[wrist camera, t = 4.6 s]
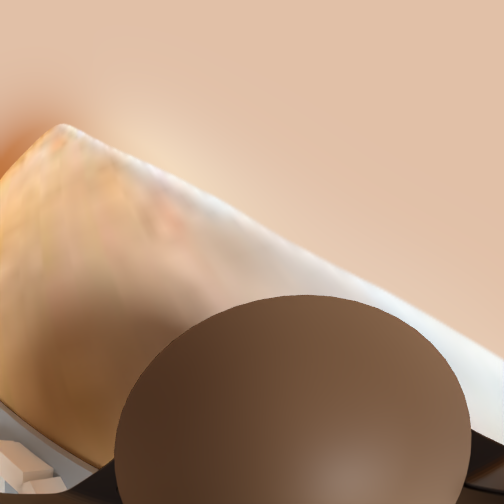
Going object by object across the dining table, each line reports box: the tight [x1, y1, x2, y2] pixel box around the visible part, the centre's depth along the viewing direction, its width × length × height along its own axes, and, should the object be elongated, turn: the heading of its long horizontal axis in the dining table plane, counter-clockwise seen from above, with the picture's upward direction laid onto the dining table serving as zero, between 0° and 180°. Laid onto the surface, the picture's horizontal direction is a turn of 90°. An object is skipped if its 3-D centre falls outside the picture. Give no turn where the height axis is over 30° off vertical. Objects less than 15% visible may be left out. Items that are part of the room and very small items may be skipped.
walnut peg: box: [114, 295, 471, 504], centre depth 8 cm, size 5×5×12 cm
